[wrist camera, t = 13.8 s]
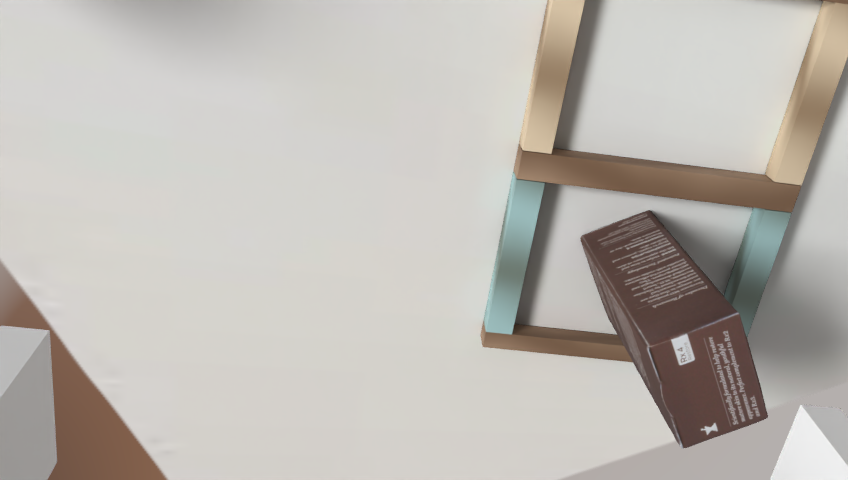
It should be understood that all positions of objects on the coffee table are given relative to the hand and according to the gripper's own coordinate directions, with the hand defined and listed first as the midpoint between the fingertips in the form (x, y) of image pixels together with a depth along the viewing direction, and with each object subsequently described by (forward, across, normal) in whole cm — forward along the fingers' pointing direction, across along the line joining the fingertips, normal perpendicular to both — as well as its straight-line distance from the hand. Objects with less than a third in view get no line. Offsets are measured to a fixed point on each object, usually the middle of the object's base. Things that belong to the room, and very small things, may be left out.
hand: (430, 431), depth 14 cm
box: (+29, +14, -9) cm, 33 cm away
